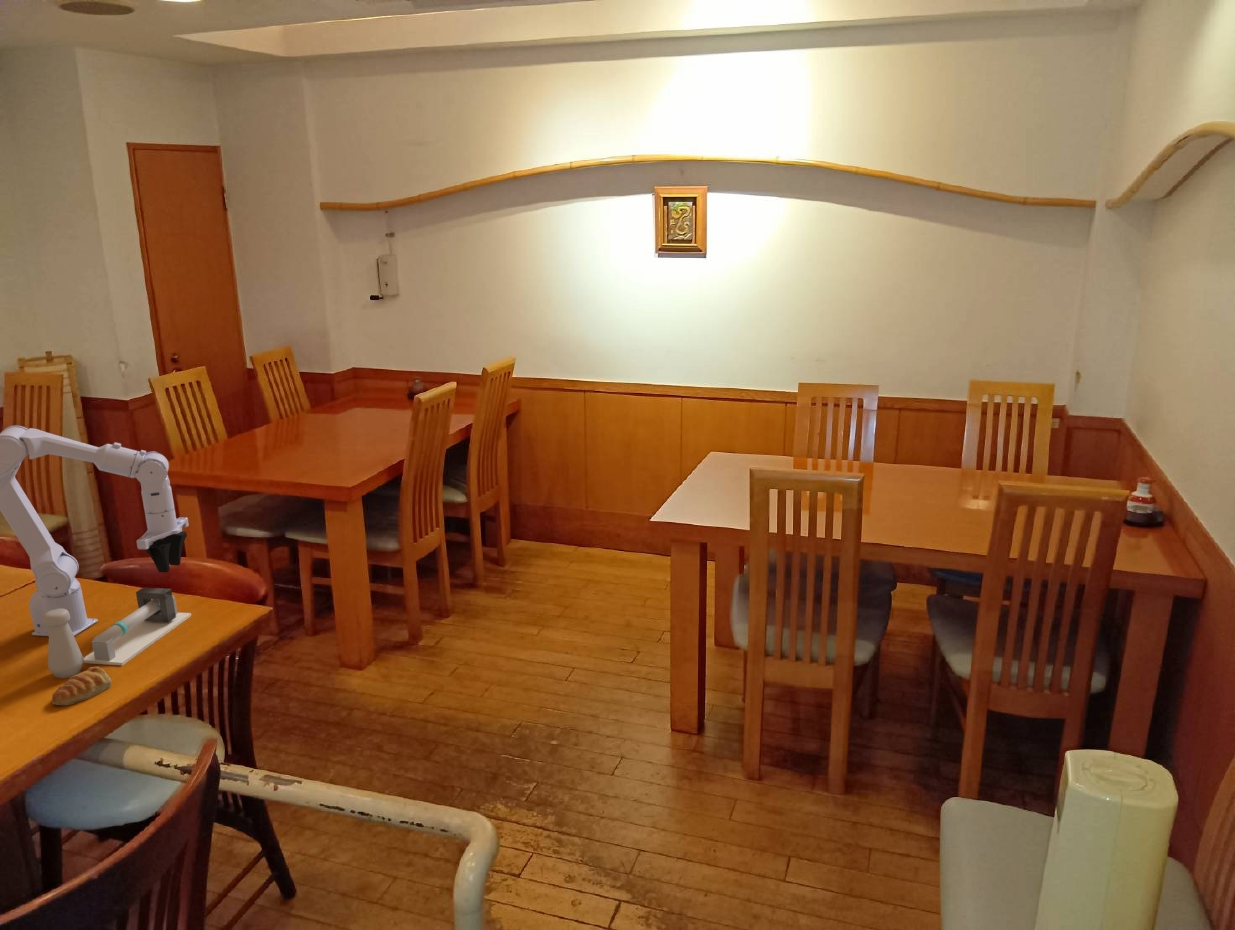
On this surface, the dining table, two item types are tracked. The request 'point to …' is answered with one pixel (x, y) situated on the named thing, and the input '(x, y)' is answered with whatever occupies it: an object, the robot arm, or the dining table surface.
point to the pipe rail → (131, 635)
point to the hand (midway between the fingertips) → (169, 568)
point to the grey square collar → (165, 600)
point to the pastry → (82, 686)
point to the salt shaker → (62, 645)
